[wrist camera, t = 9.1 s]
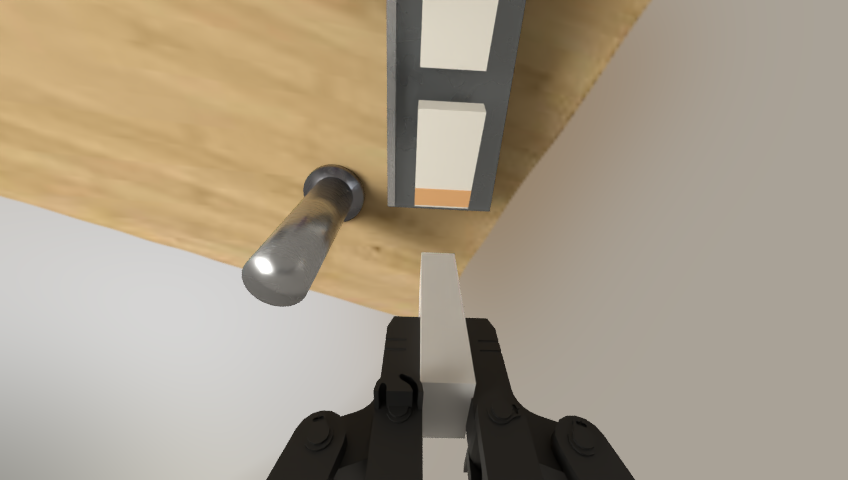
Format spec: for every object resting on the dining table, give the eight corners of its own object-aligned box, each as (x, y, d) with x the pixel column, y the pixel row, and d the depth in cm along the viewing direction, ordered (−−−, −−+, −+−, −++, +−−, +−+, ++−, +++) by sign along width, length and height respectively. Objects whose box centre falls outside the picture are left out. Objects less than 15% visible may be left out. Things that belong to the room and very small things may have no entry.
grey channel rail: (394, -83, 22) (385, -129, 17) (520, -74, 22) (551, -117, 17) (393, 186, 32) (387, 212, 27) (480, 191, 32) (492, 217, 27)
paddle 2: (418, 99, 21) (418, 109, 20) (483, 103, 21) (486, 112, 20) (415, 195, 27) (414, 206, 26) (466, 198, 27) (467, 209, 26)
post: (302, 162, 31) (212, 237, 18) (363, 166, 31) (318, 242, 18) (310, 217, 34) (238, 316, 21) (365, 220, 34) (328, 319, 21)
